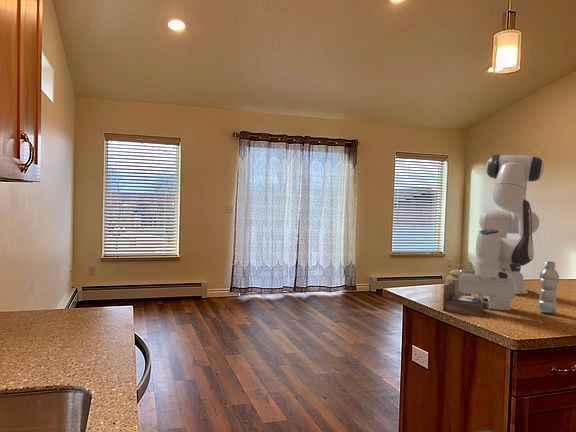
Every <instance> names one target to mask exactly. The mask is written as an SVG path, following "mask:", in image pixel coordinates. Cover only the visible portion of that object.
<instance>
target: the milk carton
mask: <svg viewBox="0 0 576 432" xmlns="http://www.w3.org/2000/svg"><path fill="white" fill-rule="evenodd" d="M500 268H502V269H505V270H507V271H510V272H512V271H511V268H510V263H505V262H500ZM486 298H488V302H489V300H490V299H489V296H486ZM511 300H512V299H509V298H501V297H493V300H492V301H491V302H490V307H489V309H491V310H498V311H499V310H501V311H511V302H512V301H511Z"/></svg>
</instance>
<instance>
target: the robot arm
mask: <svg viewBox="0 0 576 432" xmlns="http://www.w3.org/2000/svg"><path fill="white" fill-rule="evenodd" d="M485 169H486V174H487V175H488V177H490V178H491V179H493V180H494V179H495V181H494V185H493V186H494V187H493V191H492V199H493V202H494V203H495V204H496V205H497V206H498V208H501V209H502V210H500V209H499V210H496V209H495V210H487V211H483V213H481V215H480V218H479V220H478V221H479V227H480V228H481V230H480V231H478V233H477V236H476V243H475V255H476V258H475V261H474V269H466V268H463V269H461V271H463V272H461V271H459V276H458V277H459V279H460V281H459V287H458V290H459V291H460V292H461V293H469V294H471V295H478V297H479V299H480V301H481V305H483V307H488V308H490V302H491V301H492V300H493V297H501V298H509V299H511V300H512V299H513V300H514V299H515V297H516V295H528V290H527V289H526V288H525V287H524V286H525V283H524V275H523V273H521V268H522V267H523V266H526V265H527V264H529V263H531V262H532V261H533V259H534V253H535V251H534V243H533V233H535V232H537V231H538V229H539V227H540V219H539V217H538V215H537V214H536V213H535V212H534V211H532V208H531V204H530V202H529V201H528V200H527V188H528V183H529V182H536V181H538V180H540V179H541V177H542V175H543V174H544V170H545V167H544V163H543V160H542V158H540V157H537V156H528V155H521V154H516V155H515V154H502V155H501V154H495V155H494V154H493V155H491V156H490V157H489V158H488V160H487V162H486V165H485ZM508 234H512V235H513V234H515V235H518V237H517V238H509V237H507V235H508ZM500 262H505V263H510V268H511V271H512V272H510V271H507V270H505V269H502V268H500ZM484 296H485V297H487V296H489V299H490V300H489V302H484V301H483V299H482V298H484Z"/></svg>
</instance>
